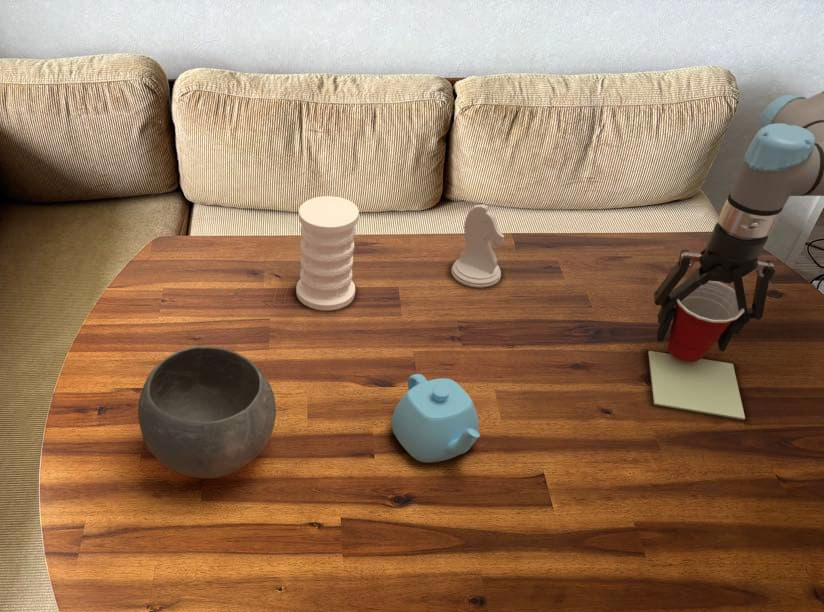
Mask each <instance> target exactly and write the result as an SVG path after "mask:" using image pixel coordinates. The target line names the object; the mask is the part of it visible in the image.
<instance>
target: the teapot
mask: <svg viewBox="0 0 824 612" xmlns="http://www.w3.org/2000/svg"><path fill="white" fill-rule="evenodd" d="M407 389H408V391H407V392H406V393H405V394H404V396H402V397H401V399H400V400H399V402H398V403H397V405H396V406H395V408H394V410H393V413H392V415H391V421H390V426H391V430H392V432H393V435H394V436H395V438H396V439H397V441H398V442H399V444H400V445H401V447H402V448H403V449H404V450H405V451H406V452H407V453H408V454H409V455H410V456H411V458H413V459H414V460H416V461H418V462H420V463H437V462H443V461H444V462H445V461H447V460H450V459H453V458H455V457H457V456H460V455H463V454H465V453H467V452H469V450H470V449H471V447H472V446H473V445H474V444H475V443H476V441H477V440H478V438H480V437H481V434H480V432H479V431H480V430H479V429H480V423H479V422H480V421H479V415H478V413H477V410H476V407H475V404H474V402H473V400H472V398H471V397H470V395H469V394H468V393H467V392H466V391H465V390H464V388H462V386H461V385H460V384H459V383H457V382H456V381H454V380H453V379H451V378H447V377H445V378H444V377H442V378H435V379H429V380H427V378H426V377H425V376H424V375H423V374H421V373H414V374H411V375H410V376H409V377H408V379H407Z"/></svg>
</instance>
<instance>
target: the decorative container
mask: <svg viewBox="0 0 824 612" xmlns="http://www.w3.org/2000/svg"><path fill="white" fill-rule="evenodd" d="M359 215H360V210H359V207H358V206H357V205H356V204H355V203H354V202H352V201H350V200H349V199H346V198H343V197H339V196H332V195H325V196H317V197H313V198H310V199H308V200H306V201H304V202H303V203H302V204H301V205H300V206H299V209H298V221H299V222H300V224H301V226H300V229H299V230H300V235H301V241H300V244H299V247H300V252H301V255H300V258H299V262H300V263H299V264H300V266H301V267H300V270H299V271H300V272H299V277H300V279H298V281H297V283H296V286H295V287H296V288H295V293H296V298H297V299H298V300H299V302H300V303H302V304H303V305H304V306H306V307H308V308H310V309H314V310H317V311H334V310H339V309H342V308H345V307H347V306H349V305H350V304H351V303H352V302H353V300H354V299H355V295H356V285H355V283H354V281H353V269H352V268H353V265H354V263H355V262H354V256H353V254H354V251H355V246H356V245H355V241H354V239H355V236H356V231H357V230H356V225H357V224H358V222H359Z"/></svg>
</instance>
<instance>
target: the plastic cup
mask: <svg viewBox="0 0 824 612" xmlns="http://www.w3.org/2000/svg"><path fill="white" fill-rule="evenodd" d="M683 282H684V281H682V282H681V283H683ZM677 303H678V304H677V305H676V306H675V311H676V312H675V315H674V317H673V319H672V322H671V327H670V332H669V340H668V343H667V350H668V352H669V353H668V354H671V355H672V356H673V357H675V358H677V359H679V360H681V361H685V362H696V361H699V360H700V359H703V357H705V355H706V354H707V352H708V351H709V350H710V348H711V347H713V345H714V344H715V343H716V342H717V341H718V339H719V337H720V335H721V334H722V333H723V331H724V330H725V329H726V328H727V326H728V325H729V324H730V323H731V322H732V321H733V320H736V319H737V318H738V317H739V316H741V315H742V314H743V313H744V309H741V310H740V311H739V309H738V305H737V300H736V295H735V289H734V288H733V287H731V286H729V285H726V283H723V282H721V281H708V282H707V283H706V284H704V285H701V286H700V287H698V288H697V289H696V290H695V291H693V292H692V293H691V294H690V295H688V296H687V297H686V298H685V299H683V300H682V301H681V302H680V300H679V299H677Z"/></svg>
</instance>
